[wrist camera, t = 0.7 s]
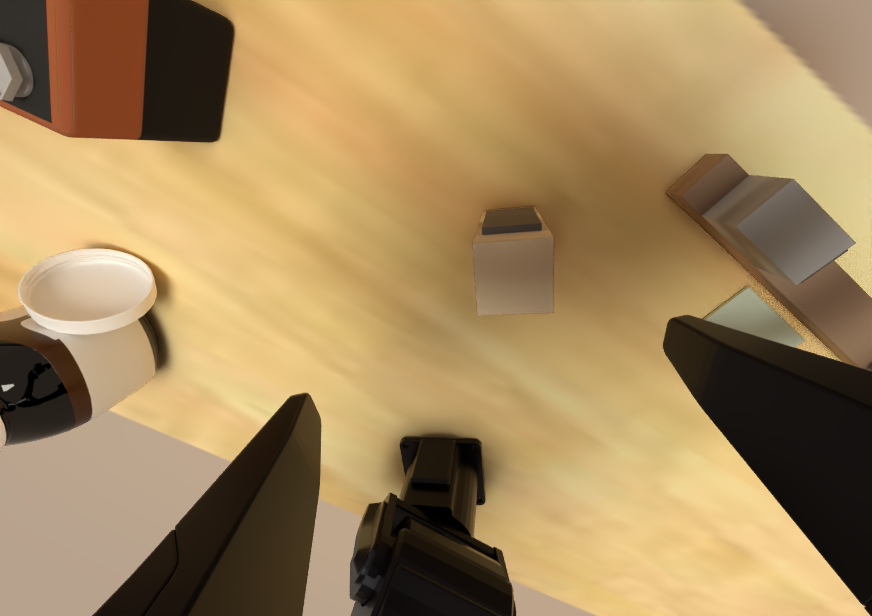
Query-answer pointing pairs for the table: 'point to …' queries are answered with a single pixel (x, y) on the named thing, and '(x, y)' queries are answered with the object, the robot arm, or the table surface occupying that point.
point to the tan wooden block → (513, 262)
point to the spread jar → (74, 342)
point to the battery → (115, 67)
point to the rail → (802, 300)
